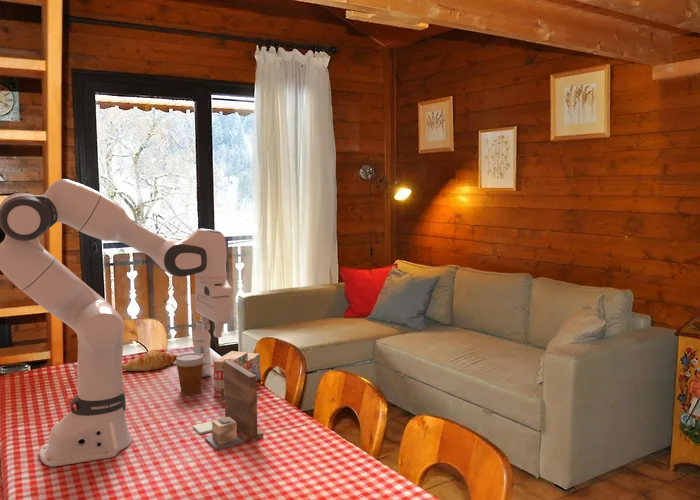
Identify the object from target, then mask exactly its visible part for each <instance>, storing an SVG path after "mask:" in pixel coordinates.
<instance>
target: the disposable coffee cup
mask: <svg viewBox="0 0 700 500" xmlns="http://www.w3.org/2000/svg"><path fill="white" fill-rule="evenodd" d="M203 362H204V358H203V355H202V354H199V353H194V352H189V353H188V352H187V353H183V354H179V355H178V356H177V358H176V361H175V362H174V364H176V368H177V373H178V380H179V381H178V382H179V386H180V393H182V394H184V395H194V394H195V395H196V394H198V393H200V392H201V388H202V378H203V377H202V369H203Z"/></svg>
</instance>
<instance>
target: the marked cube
mask: <svg viewBox="0 0 700 500" xmlns="http://www.w3.org/2000/svg"><path fill="white" fill-rule="evenodd" d="M224 417H225V416H224ZM220 418H221V419H220ZM220 418H218V419H212V420H211V421H212V432H211V434H212V435H211V436H212V438H213V439H214V440H215V441H216V442H217V443H218V444H223V443H227V442H231V441H235V440H237V435H238V434H237V433H238V432H237V431H238V430H237V423H236V422H235V421H234V420H233V419H232V418H230V417H225V418H222V417H220Z"/></svg>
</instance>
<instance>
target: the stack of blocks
mask: <svg viewBox="0 0 700 500" xmlns="http://www.w3.org/2000/svg"><path fill="white" fill-rule="evenodd" d="M260 355H261V354H260V353H256V352H255V353H254V352H247V351H235V350H231V351H229V352H228V353H226V354H224V355H222V356H220V357H218V358H217V359H214V360H212V361H213V387H214V388H213V396H214V397H215V398H216V397H217V398H218V397H219V398H224V399H225V385H224V361H227V360H231V361H233V362H235V363H236V364H238V365H239V366H241V367H243V368H244V369H246V370H248V371H249V372H251V373H252V374H254V375H256V381H257V382H258V381H259V380H260V379H261V359H260V357H261V356H260Z"/></svg>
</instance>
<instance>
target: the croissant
mask: <svg viewBox="0 0 700 500" xmlns="http://www.w3.org/2000/svg"><path fill="white" fill-rule="evenodd" d="M177 356H179V355H178V354H173V353H166V352H163V351H162V352H161V351H160V350H158V349H151V350H149V351H147V352H146V353H145V354H141V355H138V356H137V357H136V358H134V359H130V360H129V361H127V363H124V364H122V370H124V371H129V372H148V371H153V370H154V371H155V370H159V369H162V368H164V367H168V366H170V365H173V364H175V361H176V358H177Z"/></svg>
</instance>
